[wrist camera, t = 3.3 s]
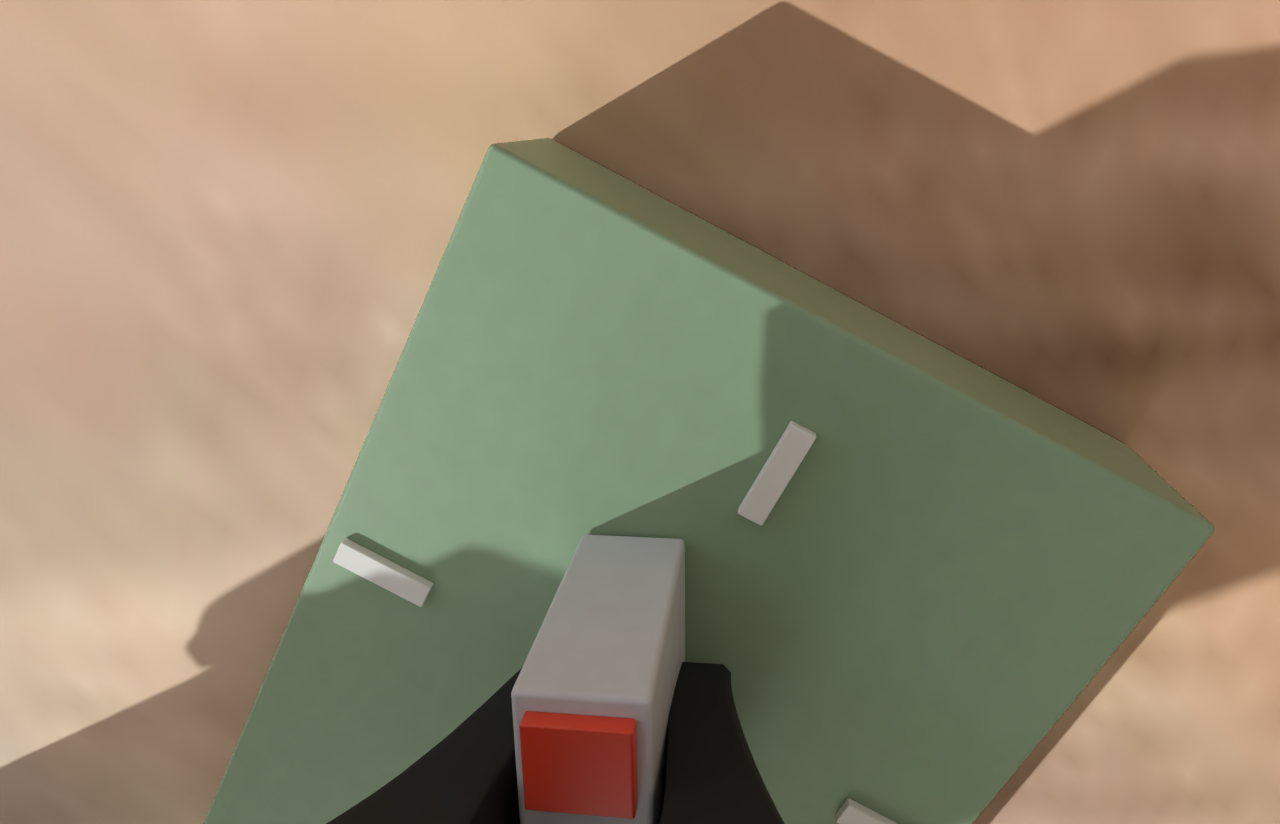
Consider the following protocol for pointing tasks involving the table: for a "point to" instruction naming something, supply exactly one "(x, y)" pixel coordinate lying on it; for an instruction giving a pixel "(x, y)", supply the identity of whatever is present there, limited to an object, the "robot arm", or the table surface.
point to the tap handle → (602, 686)
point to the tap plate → (706, 516)
